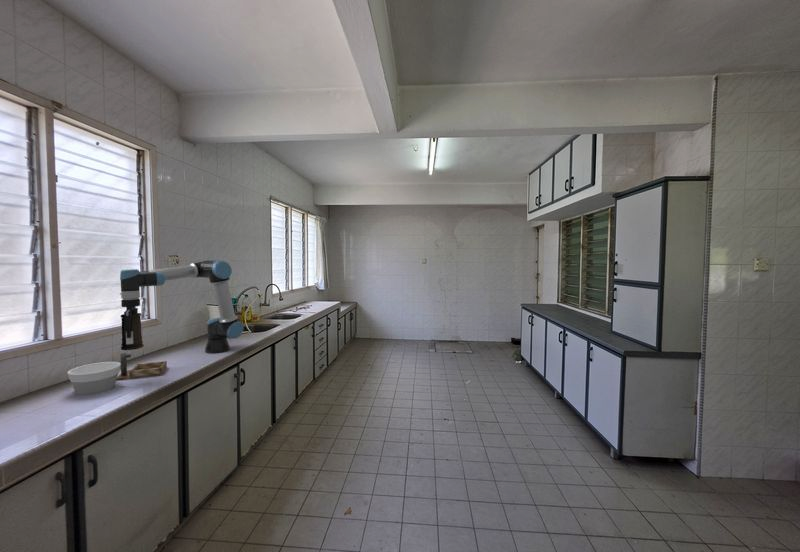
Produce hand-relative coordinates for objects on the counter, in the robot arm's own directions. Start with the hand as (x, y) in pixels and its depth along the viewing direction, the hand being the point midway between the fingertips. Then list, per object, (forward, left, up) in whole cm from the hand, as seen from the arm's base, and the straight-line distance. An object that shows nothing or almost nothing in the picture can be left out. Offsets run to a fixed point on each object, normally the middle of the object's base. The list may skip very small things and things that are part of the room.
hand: (132, 341), depth 169 cm
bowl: (+13, +5, -21) cm, 26 cm away
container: (0, 0, -4) cm, 4 cm away
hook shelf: (-2, -11, -21) cm, 24 cm away
